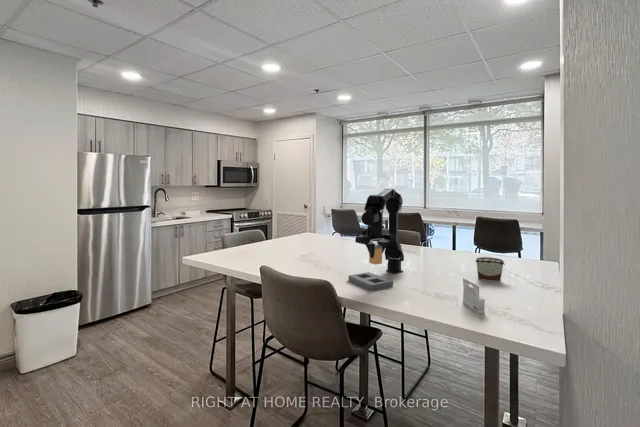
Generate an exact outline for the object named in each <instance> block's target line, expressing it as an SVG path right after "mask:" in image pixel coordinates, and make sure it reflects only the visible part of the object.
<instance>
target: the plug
mask: <svg viewBox="0 0 640 427" xmlns="http://www.w3.org/2000/svg"><path fill="white" fill-rule="evenodd" d="M368 256H369V258H368V259H369V260H368V262H369V264H372V265H380V264H381V265H382V264H383V254H382V246H380V245H378V244H375V248H374V256H373V258H371V257H370V254H369V253H368Z"/></svg>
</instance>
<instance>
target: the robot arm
mask: <svg viewBox="0 0 640 427" xmlns="http://www.w3.org/2000/svg"><path fill="white" fill-rule="evenodd" d="M365 202H366V203H365V206H364V211H365V212H363V213H362V215H361V216H360V217H361V218H360V219H361V223H362V224H363V225H365V226H367V228H365V227H359V228H358V235H357V236H356V237H355V241H354V242H355V243H357V244H360V245H365V246H366V249H367V251H368V255H369V254H370V257H371V258H373V256H374V248H375V245H376V243H377V245H380V246H382V255H383V253H384V258H385V261H387V269H386V270H385V271H386V272H389V273H391V274H397V273H403V272H404V270H402V262H405V255H404V252H403V249H402V244H401V243H400V241H399V213H400V211H401V210H402V207H403V206H402V205H403V203H404V202H403V197H402V195H401V193H398V192H397V191H396V189H394V188H383V190H382V191H380V192H379V193H378V194H370V195H369V196H368V197H367V199H366V201H365ZM384 209H386V210H387V212H388V233H383V229H385V225H383V222H384V220H383V218H384V217H383V215H384ZM374 242H376V243H374Z"/></svg>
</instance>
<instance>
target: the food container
mask: <svg viewBox="0 0 640 427" xmlns="http://www.w3.org/2000/svg"><path fill="white" fill-rule="evenodd" d="M475 264H476V271H477V272H476V273H477V280H480V281H490V282H498V283H499V282H500V283H501V280H502V274H503V267H504V266H505V261H504V260H503V259H501V258H497V257H489V256H481V257H477V258H476V259H475Z"/></svg>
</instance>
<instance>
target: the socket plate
mask: <svg viewBox="0 0 640 427" xmlns="http://www.w3.org/2000/svg"><path fill="white" fill-rule="evenodd" d="M348 281H349V282H351V283H352V284H355V285H357V286H359V287H361V288H363V289H366V290H368V291H370V292H373V291H378V290H383V289H388V288H389V289H390V288H393V287H394V281H393V280H391V279H389V278H386V277H383V276H379V275H378V274H375V273H372V272H369V271H368V272H362V273H356V274H350V275H348Z"/></svg>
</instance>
